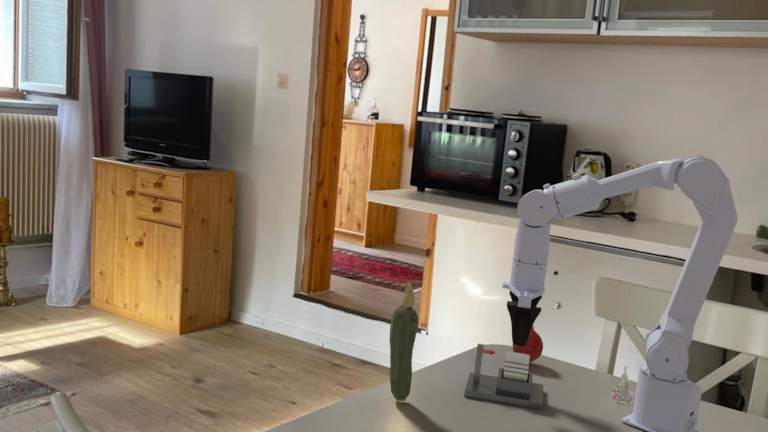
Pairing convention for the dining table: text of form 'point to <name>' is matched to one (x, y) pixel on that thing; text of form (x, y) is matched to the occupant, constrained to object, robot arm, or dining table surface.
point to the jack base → (502, 386)
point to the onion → (531, 346)
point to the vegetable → (402, 345)
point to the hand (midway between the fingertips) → (519, 338)
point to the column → (516, 366)
